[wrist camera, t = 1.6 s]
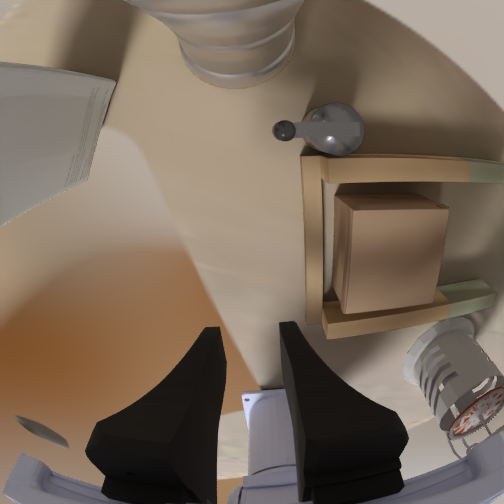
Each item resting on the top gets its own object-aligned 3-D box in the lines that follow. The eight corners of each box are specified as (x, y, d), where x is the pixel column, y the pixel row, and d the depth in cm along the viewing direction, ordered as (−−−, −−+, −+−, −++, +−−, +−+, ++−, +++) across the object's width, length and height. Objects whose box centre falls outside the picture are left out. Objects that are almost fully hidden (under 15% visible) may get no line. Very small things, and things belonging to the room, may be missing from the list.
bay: (476, 291, 23) (492, 306, 21) (305, 318, 24) (311, 341, 21) (495, 160, 19) (517, 166, 16) (299, 155, 19) (307, 159, 17)
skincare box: (63, 69, 16) (-92, 55, 3) (123, 82, 17) (-46, 48, 3) (36, 168, 19) (-108, 226, 6) (90, 189, 20) (-63, 274, 6)
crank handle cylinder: (345, 150, 19) (380, 159, 13) (270, 154, 19) (277, 162, 14) (342, 108, 18) (377, 100, 12) (266, 110, 18) (271, 100, 12)
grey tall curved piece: (482, 305, 24) (607, 475, 1) (461, 378, 29) (536, 527, 5) (407, 331, 25) (518, 563, 2) (395, 403, 29) (454, 580, 6)
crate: (408, 276, 23) (433, 303, 19) (329, 283, 23) (344, 315, 19) (418, 192, 20) (450, 207, 16) (332, 193, 20) (351, 209, 16)
